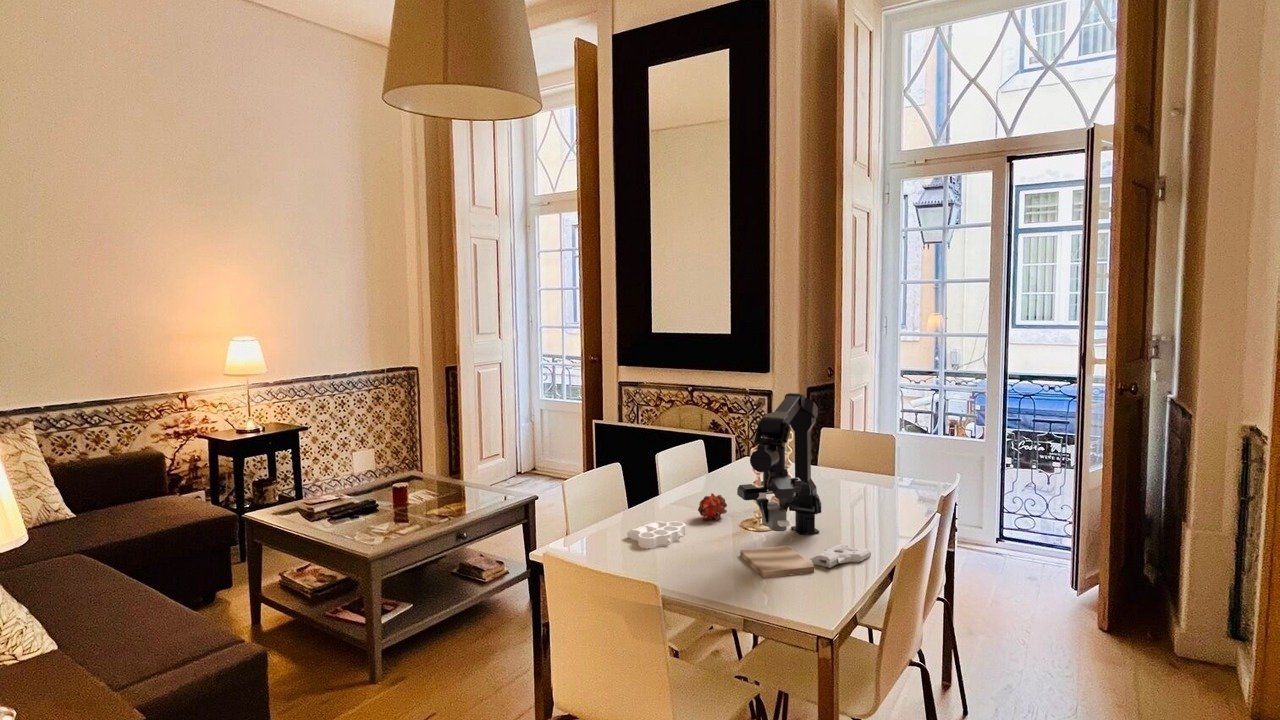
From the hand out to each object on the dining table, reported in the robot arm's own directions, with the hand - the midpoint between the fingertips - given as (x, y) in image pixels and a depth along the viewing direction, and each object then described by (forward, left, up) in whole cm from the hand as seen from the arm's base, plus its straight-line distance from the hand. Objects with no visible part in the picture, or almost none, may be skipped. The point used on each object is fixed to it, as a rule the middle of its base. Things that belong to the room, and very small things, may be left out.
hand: (774, 521), depth 186 cm
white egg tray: (-27, -25, -12) cm, 39 cm away
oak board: (+1, 0, -11) cm, 11 cm away
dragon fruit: (-40, -4, -11) cm, 42 cm away
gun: (+3, +18, -12) cm, 22 cm away
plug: (0, 0, -1) cm, 1 cm away
